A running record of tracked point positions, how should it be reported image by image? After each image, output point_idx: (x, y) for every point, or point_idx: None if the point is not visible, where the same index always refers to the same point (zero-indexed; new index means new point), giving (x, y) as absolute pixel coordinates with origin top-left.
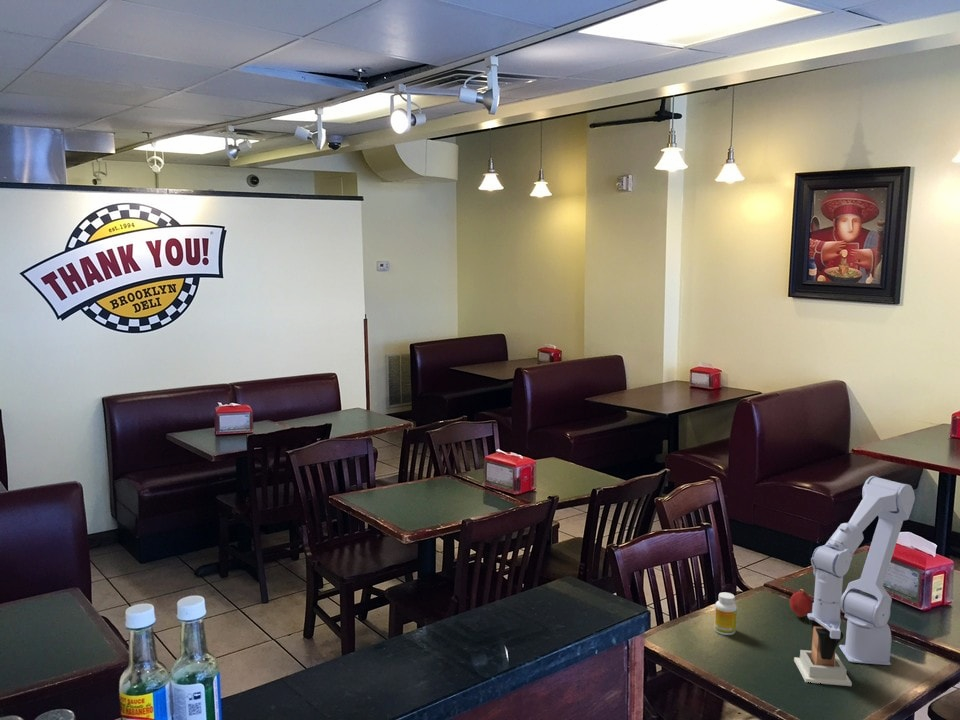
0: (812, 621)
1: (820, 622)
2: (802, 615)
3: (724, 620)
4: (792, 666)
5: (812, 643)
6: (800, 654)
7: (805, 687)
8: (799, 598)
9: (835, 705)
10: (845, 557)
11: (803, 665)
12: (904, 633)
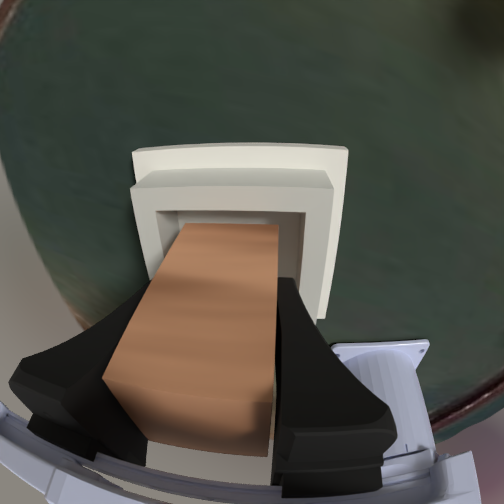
0: (284, 436)
1: (21, 468)
2: None
3: None
4: (280, 119)
5: (269, 278)
6: (320, 179)
7: (101, 141)
8: None
9: (41, 219)
10: None
11: (250, 169)
12: (434, 426)
